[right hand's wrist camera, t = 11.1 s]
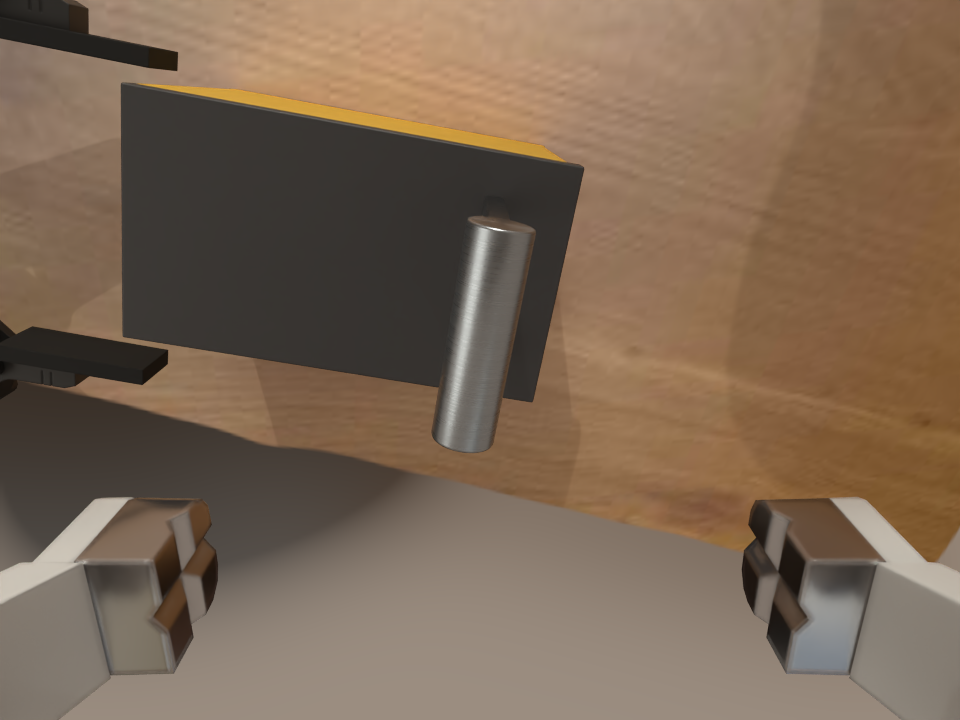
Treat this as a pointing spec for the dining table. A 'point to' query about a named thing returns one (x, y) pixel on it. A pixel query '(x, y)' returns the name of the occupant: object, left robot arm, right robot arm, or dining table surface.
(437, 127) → the chest
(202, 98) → the lid
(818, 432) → the dining table surface
